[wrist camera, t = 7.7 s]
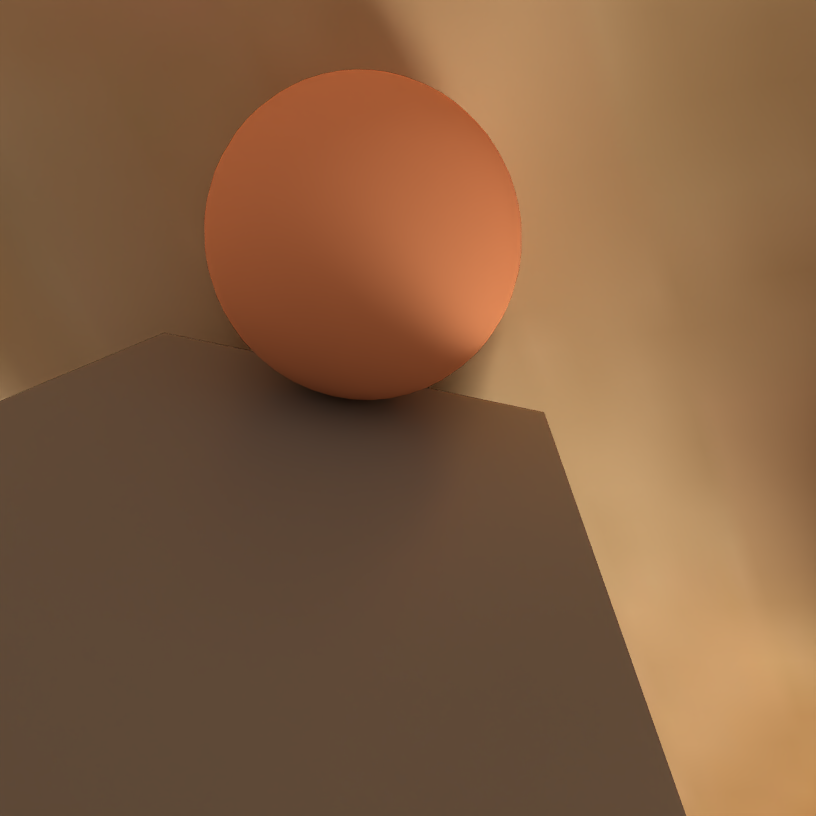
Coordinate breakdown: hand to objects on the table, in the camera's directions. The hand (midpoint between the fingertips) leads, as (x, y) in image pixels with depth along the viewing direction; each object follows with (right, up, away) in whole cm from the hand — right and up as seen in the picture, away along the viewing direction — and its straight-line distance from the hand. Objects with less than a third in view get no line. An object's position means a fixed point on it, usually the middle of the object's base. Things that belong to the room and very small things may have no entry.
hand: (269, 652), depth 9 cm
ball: (+1, +6, +1) cm, 7 cm away
